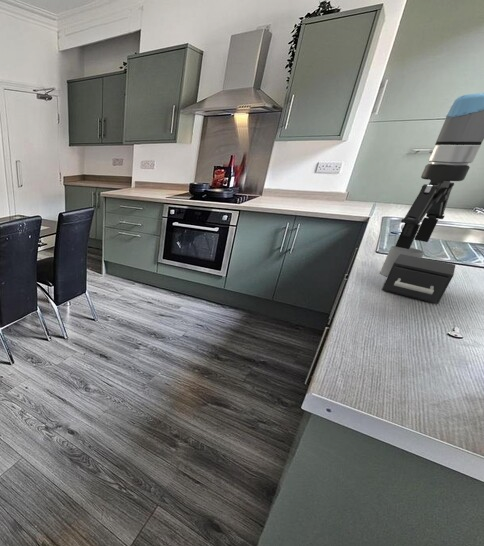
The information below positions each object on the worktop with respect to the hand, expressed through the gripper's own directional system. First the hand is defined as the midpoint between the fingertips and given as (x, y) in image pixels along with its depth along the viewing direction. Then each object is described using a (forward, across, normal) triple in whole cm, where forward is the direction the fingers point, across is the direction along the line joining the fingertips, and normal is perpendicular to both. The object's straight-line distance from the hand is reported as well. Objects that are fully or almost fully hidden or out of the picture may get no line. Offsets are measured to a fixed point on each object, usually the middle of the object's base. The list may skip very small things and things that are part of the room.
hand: (411, 244), depth 87 cm
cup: (+19, -30, -7) cm, 36 cm away
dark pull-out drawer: (+18, -13, +2) cm, 22 cm away
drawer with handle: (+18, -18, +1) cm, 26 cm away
